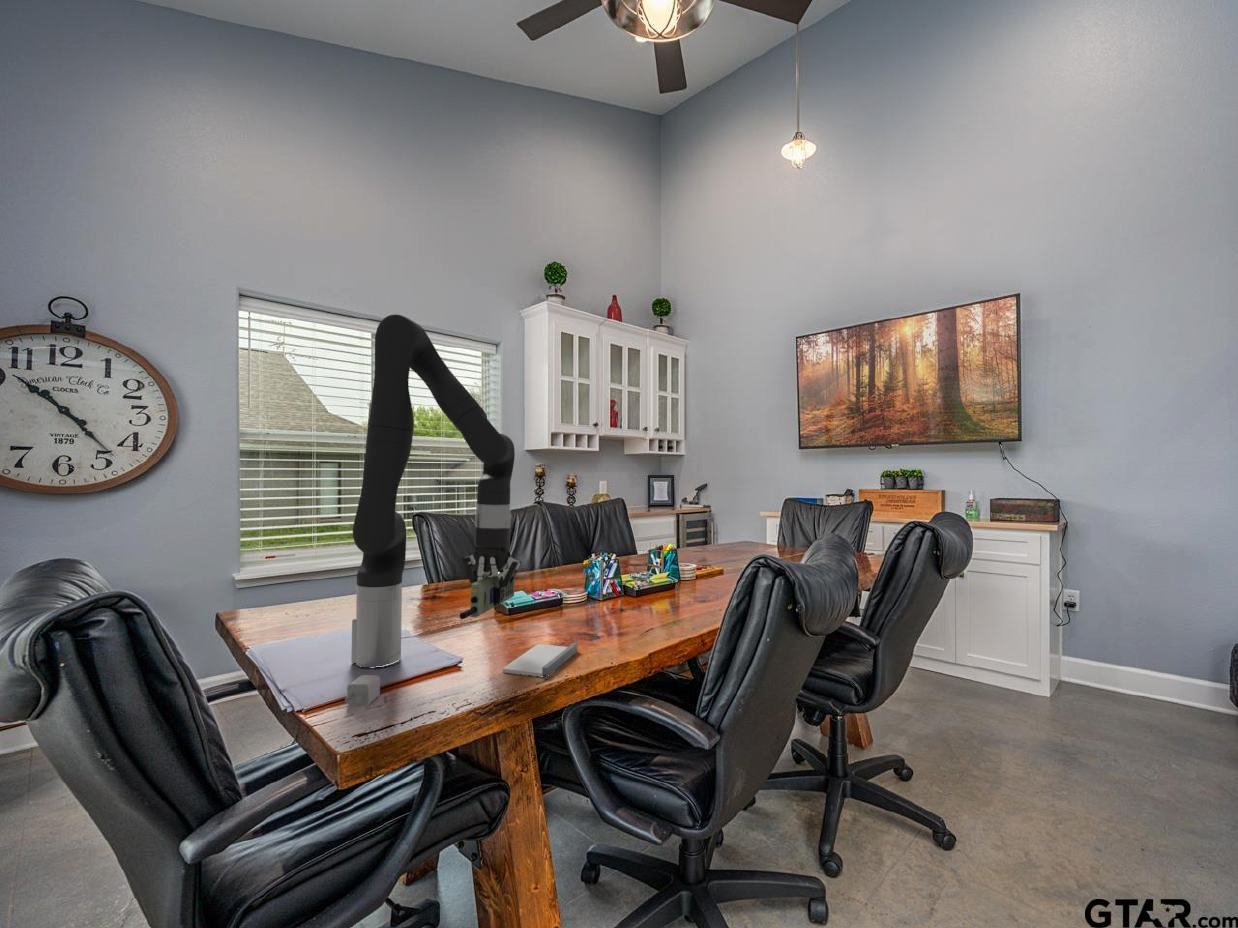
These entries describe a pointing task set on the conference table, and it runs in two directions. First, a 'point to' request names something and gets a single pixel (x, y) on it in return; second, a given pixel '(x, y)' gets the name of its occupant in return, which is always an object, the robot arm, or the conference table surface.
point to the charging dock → (541, 660)
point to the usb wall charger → (363, 690)
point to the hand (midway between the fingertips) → (490, 604)
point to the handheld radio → (485, 596)
